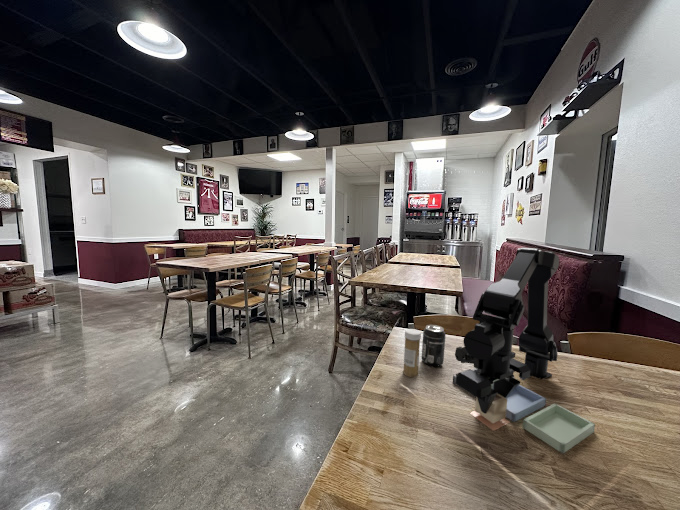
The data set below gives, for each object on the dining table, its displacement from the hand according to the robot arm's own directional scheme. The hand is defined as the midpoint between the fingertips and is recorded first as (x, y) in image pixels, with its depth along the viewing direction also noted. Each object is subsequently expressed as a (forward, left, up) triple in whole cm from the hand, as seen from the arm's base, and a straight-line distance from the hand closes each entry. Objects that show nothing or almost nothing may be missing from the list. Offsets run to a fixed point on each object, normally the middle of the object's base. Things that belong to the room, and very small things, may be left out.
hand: (490, 409), depth 63 cm
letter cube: (0, 0, -1) cm, 1 cm away
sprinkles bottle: (+4, -23, -3) cm, 23 cm away
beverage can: (-7, -25, -3) cm, 26 cm away
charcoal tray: (-10, -10, -3) cm, 15 cm away
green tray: (-10, +9, -3) cm, 14 cm away
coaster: (0, 0, -3) cm, 3 cm away
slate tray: (-10, 0, -3) cm, 11 cm away
